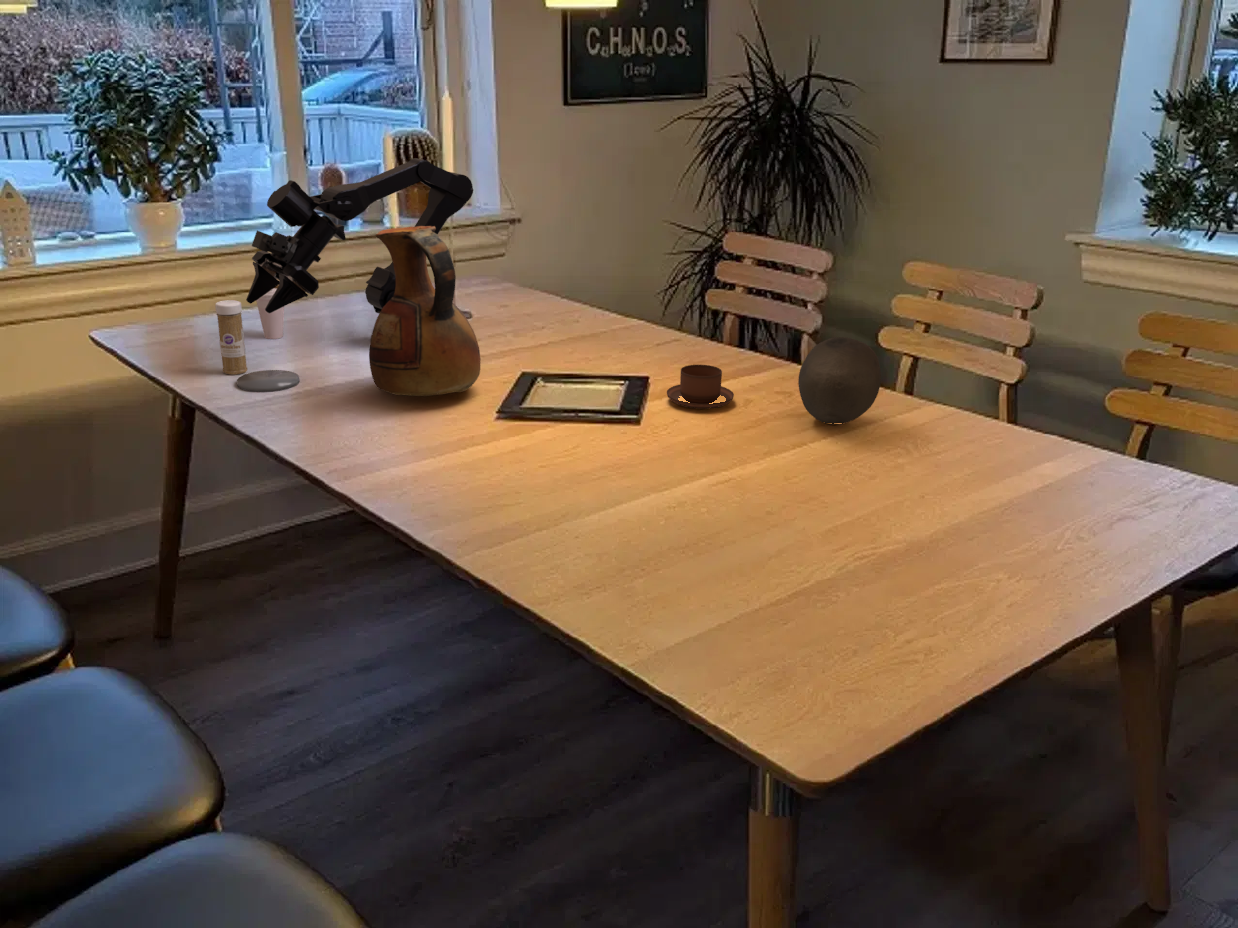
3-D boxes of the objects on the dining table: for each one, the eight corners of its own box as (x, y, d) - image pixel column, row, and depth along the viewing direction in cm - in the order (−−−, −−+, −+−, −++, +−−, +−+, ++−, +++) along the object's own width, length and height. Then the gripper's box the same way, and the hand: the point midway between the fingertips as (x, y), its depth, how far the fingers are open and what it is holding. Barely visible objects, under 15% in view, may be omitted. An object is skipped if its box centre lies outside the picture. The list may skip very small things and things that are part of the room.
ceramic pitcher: (430, 369, 215) (423, 213, 204) (504, 391, 203) (502, 226, 192) (348, 392, 201) (336, 225, 190) (423, 417, 189) (415, 241, 178)
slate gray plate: (309, 376, 209) (308, 372, 209) (283, 393, 199) (283, 389, 199) (254, 372, 211) (253, 368, 211) (226, 389, 201) (225, 385, 201)
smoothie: (284, 341, 232) (278, 274, 226) (253, 340, 232) (246, 273, 226) (293, 333, 237) (287, 268, 232) (263, 332, 238) (257, 267, 232)
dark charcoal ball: (776, 420, 192) (783, 335, 186) (835, 406, 199) (843, 324, 194) (835, 444, 181) (844, 355, 175) (895, 429, 188) (905, 343, 183)
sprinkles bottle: (222, 376, 208) (214, 305, 203) (223, 369, 212) (215, 300, 207) (248, 374, 210) (240, 304, 205) (248, 367, 214) (240, 298, 209)
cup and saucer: (652, 402, 200) (653, 369, 198) (697, 388, 208) (698, 357, 205) (702, 419, 192) (704, 384, 190) (746, 404, 200) (749, 371, 198)
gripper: (257, 208, 214) (206, 271, 211) (297, 222, 200) (243, 289, 198) (299, 245, 221) (250, 307, 219) (341, 261, 208) (289, 327, 205)
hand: (257, 306), depth 210 cm, fingers open, 9 cm apart
